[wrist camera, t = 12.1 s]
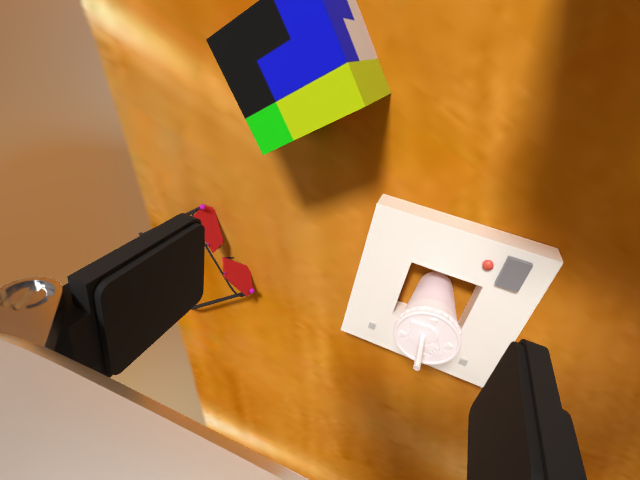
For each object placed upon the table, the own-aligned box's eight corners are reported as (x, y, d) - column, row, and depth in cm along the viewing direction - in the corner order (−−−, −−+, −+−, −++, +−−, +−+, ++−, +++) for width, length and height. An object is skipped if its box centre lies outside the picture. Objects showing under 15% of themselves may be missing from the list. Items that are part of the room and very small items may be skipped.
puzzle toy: (350, -16, 34) (308, -36, 25) (391, 93, 36) (365, 106, 28) (264, 41, 39) (206, 39, 30) (306, 133, 41) (263, 155, 33)
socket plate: (383, 193, 41) (375, 205, 38) (557, 248, 37) (564, 265, 34) (347, 315, 50) (339, 332, 47) (484, 370, 46) (485, 392, 43)
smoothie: (445, 252, 41) (432, 332, 30) (476, 296, 42) (476, 391, 31) (397, 275, 45) (368, 356, 33) (427, 315, 46) (410, 407, 34)
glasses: (264, 283, 54) (246, 303, 49) (188, 305, 62) (167, 324, 57) (214, 196, 50) (190, 209, 46) (140, 232, 58) (114, 246, 54)
